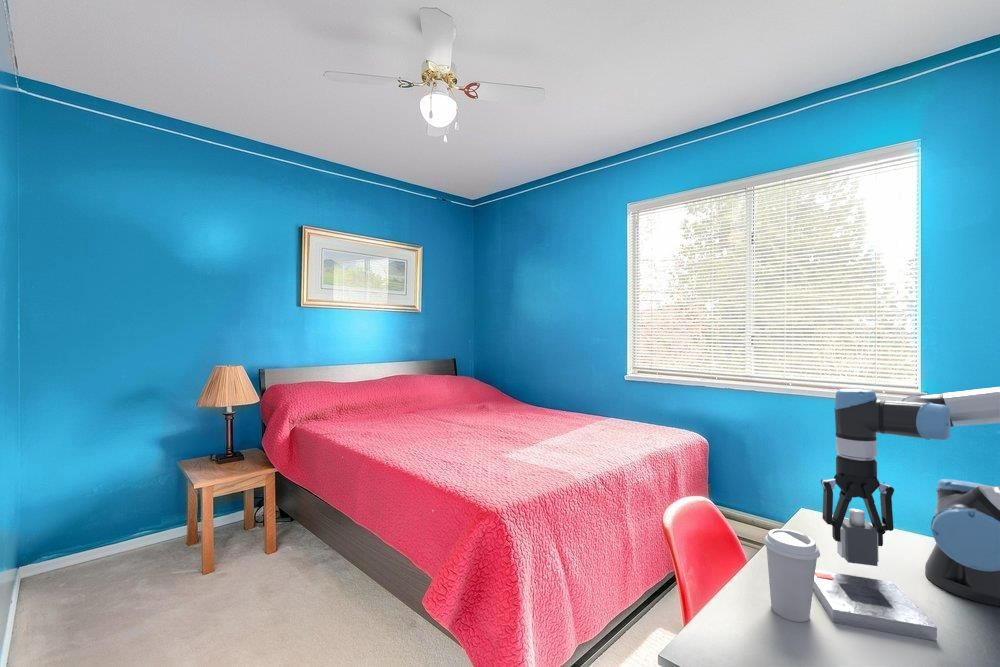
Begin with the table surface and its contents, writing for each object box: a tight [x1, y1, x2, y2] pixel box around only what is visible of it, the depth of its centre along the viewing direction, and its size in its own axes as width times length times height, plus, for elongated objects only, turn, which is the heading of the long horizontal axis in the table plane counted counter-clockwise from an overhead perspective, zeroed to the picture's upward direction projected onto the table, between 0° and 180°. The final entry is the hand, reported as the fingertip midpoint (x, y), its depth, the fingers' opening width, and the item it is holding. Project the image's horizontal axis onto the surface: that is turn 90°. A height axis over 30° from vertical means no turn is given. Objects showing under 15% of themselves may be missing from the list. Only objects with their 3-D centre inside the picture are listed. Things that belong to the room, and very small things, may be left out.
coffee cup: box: [763, 528, 821, 623], centre depth 91 cm, size 10×10×15 cm
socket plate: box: [813, 569, 938, 642], centre depth 93 cm, size 16×16×3 cm
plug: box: [842, 508, 879, 567], centre depth 105 cm, size 6×6×11 cm
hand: (857, 556), depth 105 cm, fingers closed on plug, 5 cm apart
